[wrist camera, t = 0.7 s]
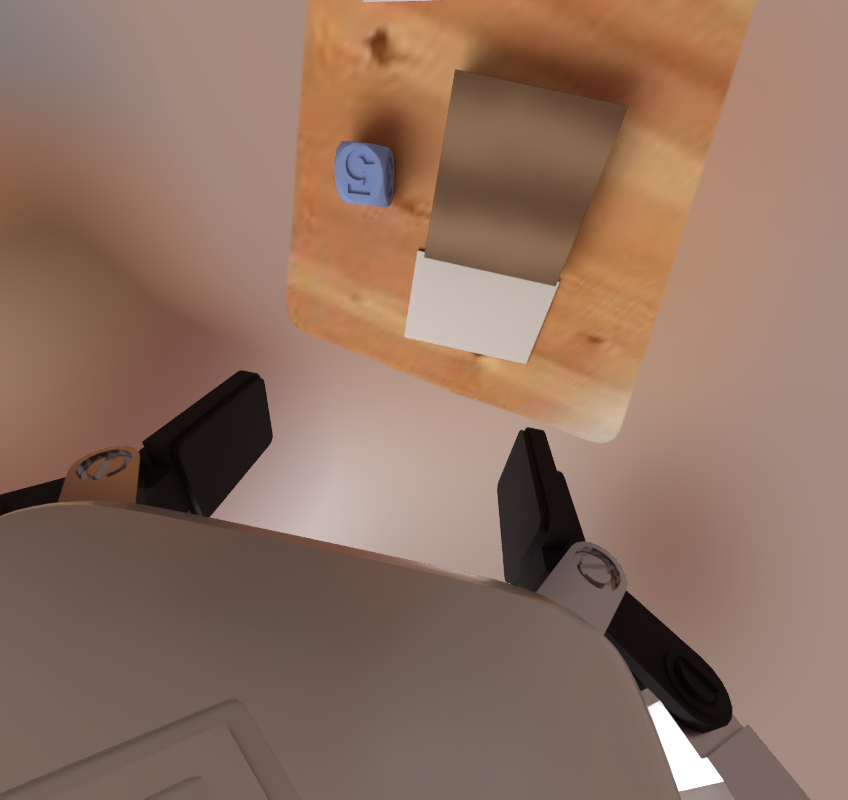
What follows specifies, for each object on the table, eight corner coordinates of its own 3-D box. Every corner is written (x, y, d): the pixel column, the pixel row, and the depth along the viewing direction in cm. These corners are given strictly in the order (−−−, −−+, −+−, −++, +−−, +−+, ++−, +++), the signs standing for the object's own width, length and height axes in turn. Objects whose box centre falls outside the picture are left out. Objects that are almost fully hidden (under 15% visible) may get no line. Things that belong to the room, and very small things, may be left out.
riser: (457, 82, 24) (455, 69, 21) (612, 115, 24) (628, 106, 21) (428, 252, 30) (423, 257, 28) (548, 279, 30) (555, 286, 28)
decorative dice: (351, 201, 29) (335, 201, 26) (350, 146, 27) (332, 139, 23) (393, 206, 29) (383, 207, 25) (395, 151, 27) (384, 144, 23)
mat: (418, 250, 30) (417, 250, 30) (558, 281, 30) (559, 282, 30) (404, 335, 35) (404, 336, 35) (525, 362, 35) (525, 364, 35)
